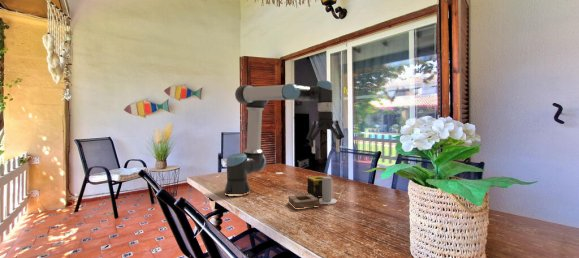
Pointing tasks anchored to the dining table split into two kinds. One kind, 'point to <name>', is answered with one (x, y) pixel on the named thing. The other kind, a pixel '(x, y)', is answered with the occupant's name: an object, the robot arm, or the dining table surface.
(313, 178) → the candle
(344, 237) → the dining table surface
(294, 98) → the robot arm
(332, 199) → the white round domed part
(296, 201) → the socket block
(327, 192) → the beverage can
